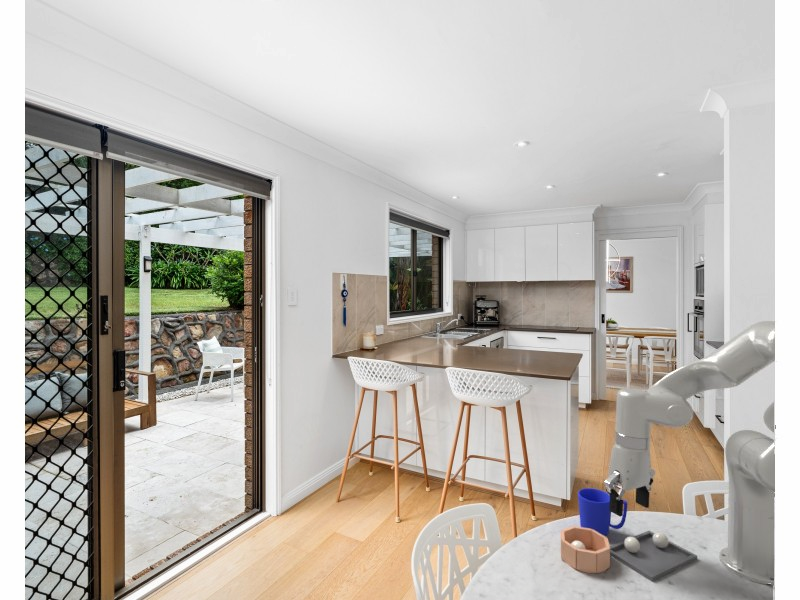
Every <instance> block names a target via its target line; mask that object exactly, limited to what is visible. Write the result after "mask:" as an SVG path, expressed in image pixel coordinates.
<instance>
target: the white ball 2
mask: <svg viewBox="0 0 800 600" xmlns="http://www.w3.org/2000/svg"><path fill="white" fill-rule="evenodd" d="M624 540H625V541H624ZM624 540H623V541H624V545H625V548H626V549H627V550H628V551H629V552H631V553H636V552H638V551H639V550H640V543H639V541H638V540H637V539H636V538H634V536H626V537H625V538H624Z"/></svg>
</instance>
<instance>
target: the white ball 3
mask: <svg viewBox="0 0 800 600" xmlns="http://www.w3.org/2000/svg"><path fill="white" fill-rule="evenodd" d="M654 533H655V534H654V535H653V538H652V539H653V542H654V544H655V545H656V546H657V547H659V548H666V547H667V546H668V544H669V541H670V540H669V538H668V537H667V535H666V534H665V533H663V532H660V531H659V532H654Z"/></svg>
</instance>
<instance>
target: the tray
mask: <svg viewBox="0 0 800 600" xmlns="http://www.w3.org/2000/svg"><path fill="white" fill-rule="evenodd" d="M655 533H656V532H653V531H651V530H647V531H643V532H642V533H639V534H637V535H634V536H633V537H634V538H636V539H637V540H638V541H639V543H640V550H639V551H638V552H636V553H631V552H629V551H628V550H627V549H626V548H625V545H624V541H625V539H624V540H622V541H618V542H616V543H614V544H612V545H609V546H610V557H611V558H613V559H615V560H617V561H618V562H620V563H621V564H623V565H625V567H627V568H628V569H631V570H632V571H634V572H635V573H638V574H639V575H640V576H642V577H643V578H645V579H647V580H649V581H650V582H654V581H656V580H658V579H660V578H662V577H664V576H666V575H669V574H671V573H673V572H674V571H677V570H678V569H680V568H683V567H685V566H687V565H689V564H691V563H693V562H695V561H697V560H698V555H697V554H695V553H693V552H691V551H689V550H687V549H685V548H683V547H682V546H680V545H678V544H676V543H674V542H672V541H670V540H669V544H668V546H667V547H666V548H659V547H657V546H656V545H655V544H654V542H653V539H652V538H653V535H654V534H655Z"/></svg>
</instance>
